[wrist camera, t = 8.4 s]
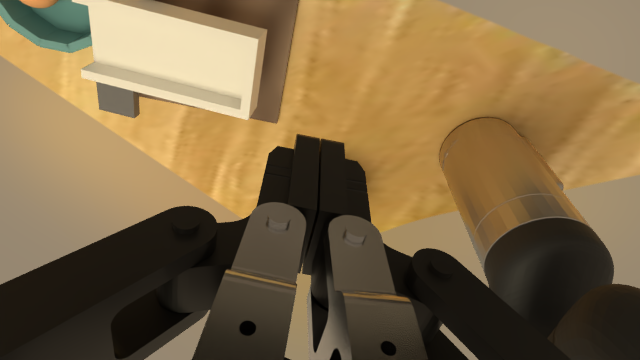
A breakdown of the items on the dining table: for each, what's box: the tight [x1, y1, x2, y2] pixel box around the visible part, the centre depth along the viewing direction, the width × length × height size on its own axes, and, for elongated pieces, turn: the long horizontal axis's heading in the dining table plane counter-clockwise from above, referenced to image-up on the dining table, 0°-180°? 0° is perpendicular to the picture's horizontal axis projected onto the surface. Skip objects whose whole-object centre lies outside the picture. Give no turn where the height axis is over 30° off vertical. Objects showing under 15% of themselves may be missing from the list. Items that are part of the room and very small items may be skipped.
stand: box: [139, 0, 298, 123], centre depth 39 cm, size 16×14×6 cm
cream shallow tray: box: [72, 0, 267, 120], centre depth 36 cm, size 15×11×3 cm
